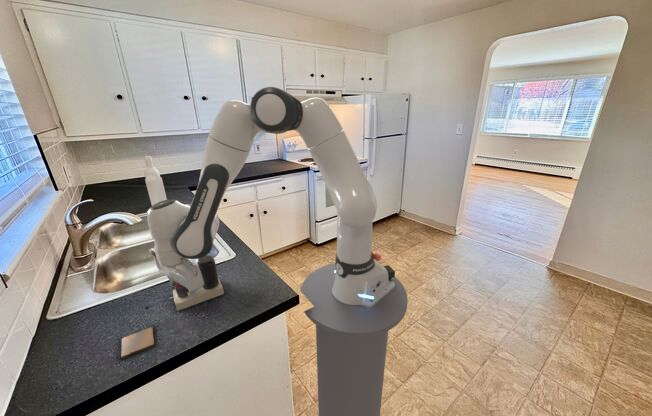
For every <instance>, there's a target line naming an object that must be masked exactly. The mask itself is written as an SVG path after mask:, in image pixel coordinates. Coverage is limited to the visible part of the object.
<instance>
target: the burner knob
mask: <svg viewBox="0 0 652 416" xmlns="http://www.w3.org/2000/svg"><path fill="white" fill-rule="evenodd" d="M175 289H176V293H177V296H178V297H179V298H183V297H186V296H188V293H187V292H189V290H188V289H187V288H186V287H184V286H182V285H181V284H179V283H177V284H176V285H175V287H174V290H175Z"/></svg>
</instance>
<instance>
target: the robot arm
mask: <svg viewBox="0 0 652 416" xmlns="http://www.w3.org/2000/svg"><path fill="white" fill-rule="evenodd" d="M290 131H294V132H296V133H297V134H298V135H299V137H300V138H301V139H302V141H303V143H304V145H305V146H306V148H307V150H308V152H309V154H310V156H311V157H312V159H313V162H314V163H315V165H316V167H317V169H318V170H319V173H320V174H321V177H322V179H323V181H324V184H325V187H326V188H327V191H328V194H329V196H330V198H331V200H332V202H333V204H334V207H335V209H336V212H337V216H336V217H337V221H336V253H335V261H334V263H335V264H336V270H335V271H334V273H336V275H335V280H334V284H333V287H332V294H333V296H334V297H335V298H336V299H337V300H338V301H340V302H342V303H344V304H348V305H362V306H365V307H373V306H374V305H375V304H376V303H377V302H378V301H380V300H381V299H382V298H383V297H384V296H385V295H387V294H388V293H389V292H390V291H391V290H392V289H393V288H395V283H394V281H393V280H392V278H393V277H396V270H395V269H393V268H392V266H391V265H389V264H385V265H382V264H381V263H379V262H380V261H381V259H382V255H380V254H378V253H376V252H375V253H373V251H372V250H373V221H374V219H375V217H376V214H377V209H378V201H377V197H376V195H375V192H374V190H373V187H372V184H371V182H370V181H369V180H368V179H367V177H366V174H365V173H364V170H363V168H362V166H361V164H360V161H359V160H358V157H357V155H356V152H355V151H354V149H353V146H352V144H351V143H350V141H349V139H348V136H347V134H346V132H345V130H344V128H343V126H342V124H341V121H339V119H338V117H337V116H336V114H335V113H334V111H333V109H332V108H331V107H330V105H329V104H328V103H327V101H325V100H324V99H323V98H321V97H311V98H308V99H306V100H304V101H301V100H300V99H298V98H296V97H295V96H293V95H292V94H290V93H289V92H288V91H286V90H285V89H283V88H281V87H278V86H273V85H271V86H265V87H262V88H260V89H259V90H257V91H256V92H255V93H254V94H253V96H252V98H251V100H250V103H246V102H243V101H241V100H236V99H232V100H231V99H230V100H227V101H226V102H224V103H223V104H222V105H221V107H220V109H219V110H218V113H217V114H216V116H215V118H214V120H213V122H212V125H211V126H210V130H209V133H208V136H207V139H206V142H205V146H204V151H203V158H202V162H201V167H200V175H199V178H198V179H199V180H198V183H197V187H196V190H195V192H194V196H193V198H192V201H191V204H190V205H189V204H185V203H181V202H180V201H178V200H177V199H167V200H164V201H161V202H159V203H156V204H154V205H153V206H152V205H151V206H150V207H149V208H148V210H147V211H146V217H147V219H146V220H147V225H148V229H149V233H150V236H151V238H152V240H153V242H154V247H151V248H150V249H149V252H150V253H149V254H150V255H151V256H152V257H153V260H154V263H155V266H156V268H157V270H158V271H159V272H160V273H161V274H163V275H165V276H166V277H167V279H168V280H169V282H170V284H171V287H173V288H175V285H176V284H177V283H179V284H181V285H182V286H184V287H186V288H187V289H188V290H189V292H187V293H188V296H189V297H190V298H194V297H195V296H196V290H198V289H200V288H201V287H203V285H204V281H203V277H202V274H201V271H200V269H199V267H198V265H197V263H196V262H194V261H193V260H198V259H199V258H202V257H204V256H206V255H209V253H210V252H211V251H212V249H213V244H214V240H215V239H216V236H217V232H218V230H219V227H220V221H221V220H220V217H219V215H218V214H217V213H218V210H219V207H220V205H221V201H222V199H223V198H224V195H225V193H226V192H227V190H228V188H229V187H230V185H232V183H233V181H235V179H236V178H237V176H238V174H239V173H240V172H241V170H242V168H244V166H245V164H246V161H247V159H248V158H249V155H250V153H251V150H252V147H253V145H254V142H255V140H256V138H257V136H258V135H259V134H261V133H262V132H265V133H268V134H275V135H280V134H284V133H286V132H290Z"/></svg>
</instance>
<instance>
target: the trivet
mask: <svg viewBox="0 0 652 416" xmlns="http://www.w3.org/2000/svg"><path fill="white" fill-rule="evenodd" d="M153 346H155V337H154V328H153V326H151V327H148V328H144V329H142V330H140V331H137V332H134V333H132V334H130V335H127V336H124V337H121V350H120V358H121V359H125V358H127V357H129V356H133V355H134V354H137V353H139V352H141V351H145V350H147V349H149V348H151V347H153Z"/></svg>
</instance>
